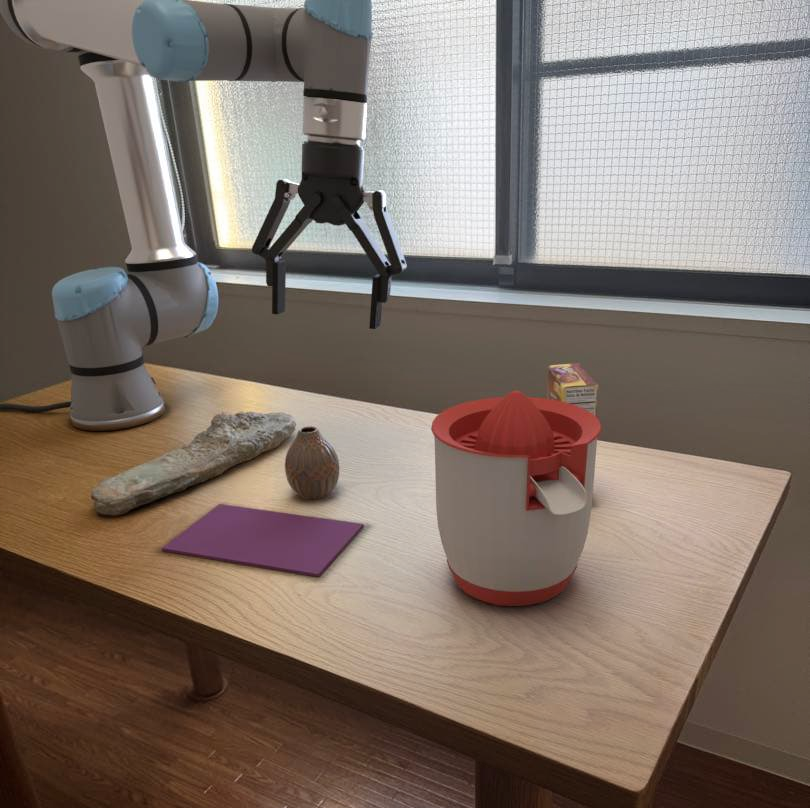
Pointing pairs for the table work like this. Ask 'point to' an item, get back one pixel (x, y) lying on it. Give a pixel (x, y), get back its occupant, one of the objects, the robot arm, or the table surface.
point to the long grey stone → (194, 460)
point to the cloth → (266, 539)
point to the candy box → (572, 386)
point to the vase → (311, 464)
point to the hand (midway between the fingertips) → (326, 319)
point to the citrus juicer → (514, 494)
